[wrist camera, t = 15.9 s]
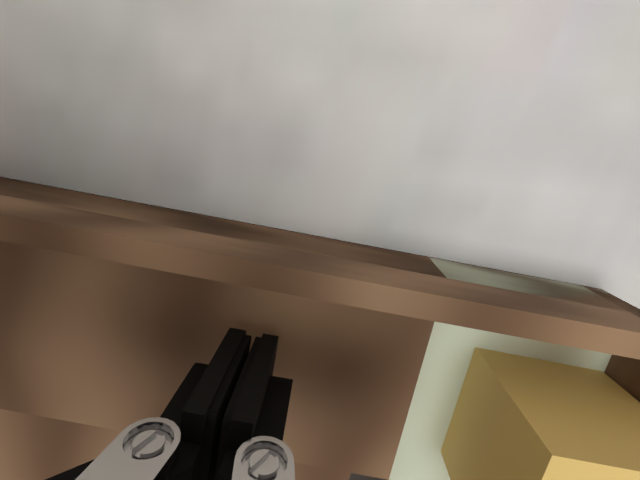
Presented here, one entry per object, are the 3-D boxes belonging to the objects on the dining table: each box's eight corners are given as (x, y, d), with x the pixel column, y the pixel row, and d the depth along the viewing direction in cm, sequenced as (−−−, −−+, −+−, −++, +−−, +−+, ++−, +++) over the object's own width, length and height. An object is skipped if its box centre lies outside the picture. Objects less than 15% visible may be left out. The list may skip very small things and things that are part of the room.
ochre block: (440, 451, 13) (490, 595, 9) (475, 347, 12) (552, 455, 8) (556, 473, 13) (663, 627, 9) (602, 371, 12) (748, 491, 8)
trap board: (-4, 473, 18) (-104, 570, 14) (-21, 172, 14) (-168, 182, 10) (489, 563, 18) (534, 685, 14) (601, 289, 14) (709, 345, 10)
